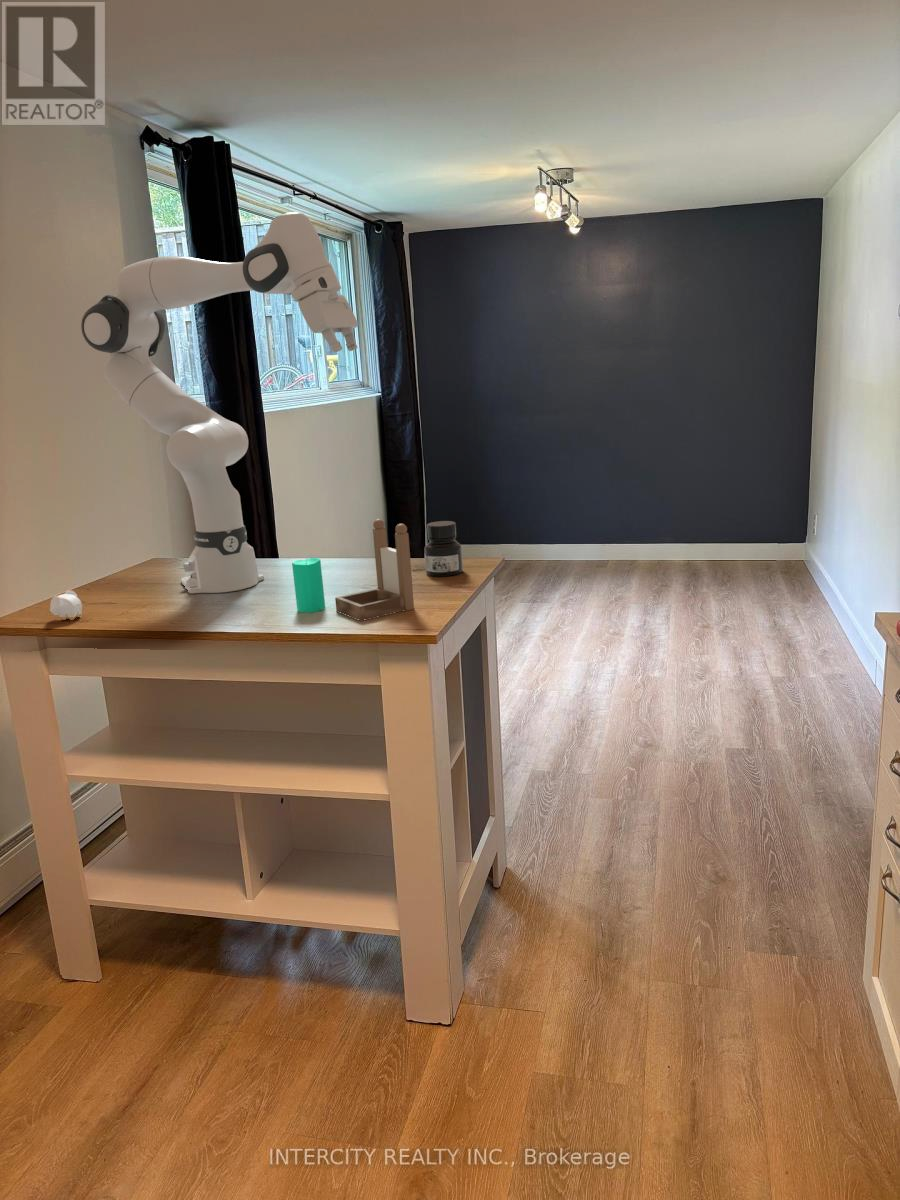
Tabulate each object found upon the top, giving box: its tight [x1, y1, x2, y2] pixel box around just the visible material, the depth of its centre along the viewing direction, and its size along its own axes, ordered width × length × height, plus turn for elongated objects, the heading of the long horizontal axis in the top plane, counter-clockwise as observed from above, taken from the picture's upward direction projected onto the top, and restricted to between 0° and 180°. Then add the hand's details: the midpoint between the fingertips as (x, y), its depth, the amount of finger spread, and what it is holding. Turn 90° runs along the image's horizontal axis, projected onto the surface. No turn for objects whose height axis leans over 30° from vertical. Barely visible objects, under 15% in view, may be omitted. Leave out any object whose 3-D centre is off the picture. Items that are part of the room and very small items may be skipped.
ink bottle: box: [423, 520, 464, 577], centre depth 223 cm, size 10×9×12 cm
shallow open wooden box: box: [334, 587, 405, 621], centre depth 195 cm, size 10×10×3 cm
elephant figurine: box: [48, 589, 83, 618], centre depth 205 cm, size 7×8×6 cm
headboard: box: [372, 518, 415, 611], centre depth 197 cm, size 11×2×18 cm, turn 35°
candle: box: [291, 553, 326, 614], centre depth 199 cm, size 6×6×12 cm
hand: (346, 350), depth 201 cm, fingers open, 8 cm apart
